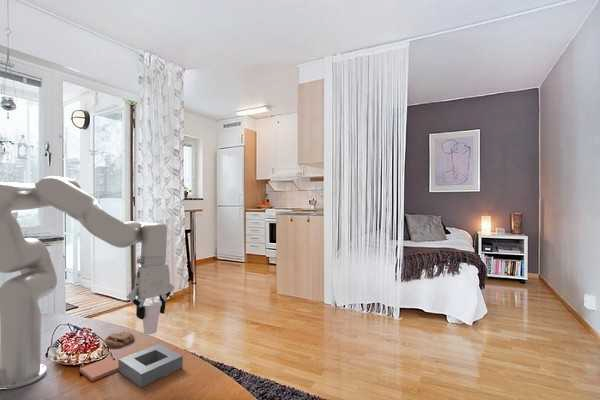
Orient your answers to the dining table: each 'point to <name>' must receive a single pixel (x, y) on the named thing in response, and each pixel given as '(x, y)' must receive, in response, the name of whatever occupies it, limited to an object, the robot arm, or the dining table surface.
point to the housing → (143, 374)
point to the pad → (100, 369)
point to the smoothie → (151, 315)
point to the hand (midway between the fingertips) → (150, 314)
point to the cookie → (119, 339)
